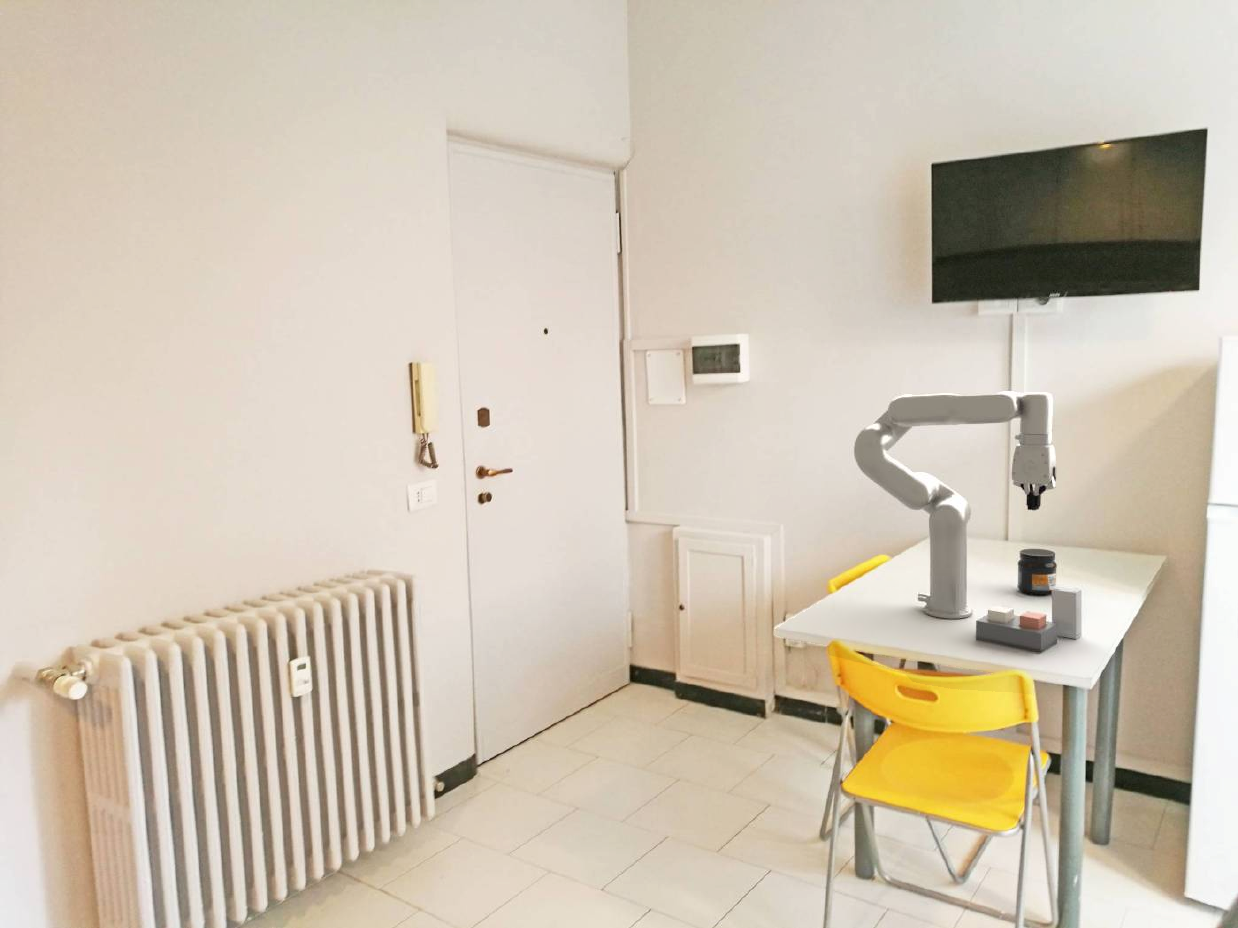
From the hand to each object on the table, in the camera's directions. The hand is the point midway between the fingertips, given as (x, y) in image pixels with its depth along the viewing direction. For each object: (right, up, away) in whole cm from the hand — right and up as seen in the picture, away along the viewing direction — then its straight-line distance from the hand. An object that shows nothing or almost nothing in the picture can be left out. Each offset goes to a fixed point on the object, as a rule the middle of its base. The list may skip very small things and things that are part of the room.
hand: (1033, 509), depth 241 cm
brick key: (-7, -30, -15) cm, 34 cm away
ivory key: (-12, -29, -9) cm, 33 cm away
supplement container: (+15, -26, +30) cm, 43 cm away
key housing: (-10, -32, -12) cm, 36 cm away
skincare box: (+4, -32, -9) cm, 33 cm away
